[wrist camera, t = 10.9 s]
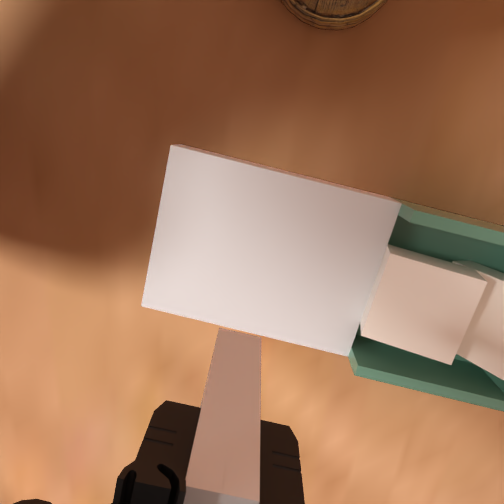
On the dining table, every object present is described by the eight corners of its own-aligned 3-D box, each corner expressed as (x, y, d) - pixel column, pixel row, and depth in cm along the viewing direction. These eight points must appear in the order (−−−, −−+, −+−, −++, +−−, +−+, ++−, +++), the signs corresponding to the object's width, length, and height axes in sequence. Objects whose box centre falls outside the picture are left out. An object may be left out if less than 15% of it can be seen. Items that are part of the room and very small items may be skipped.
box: (341, 337, 34) (354, 375, 29) (389, 197, 31) (414, 209, 25) (480, 372, 34) (519, 415, 29) (543, 236, 31) (599, 256, 26)
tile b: (506, 381, 27) (521, 373, 29) (546, 298, 25) (560, 295, 27) (423, 334, 31) (441, 330, 33) (452, 260, 29) (470, 260, 31)
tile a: (360, 319, 31) (360, 335, 28) (386, 243, 29) (390, 253, 26) (442, 345, 30) (451, 365, 27) (474, 269, 28) (487, 281, 25)
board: (152, 291, 34) (141, 306, 31) (180, 143, 30) (170, 144, 27) (341, 337, 34) (348, 356, 31) (389, 197, 31) (401, 203, 28)
